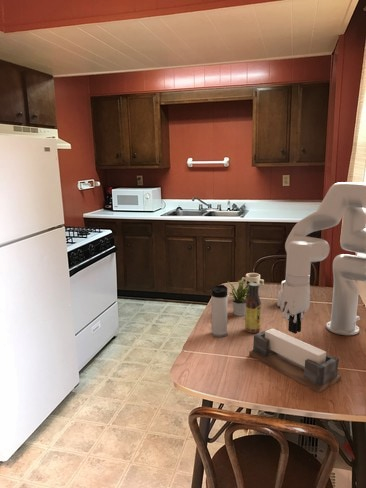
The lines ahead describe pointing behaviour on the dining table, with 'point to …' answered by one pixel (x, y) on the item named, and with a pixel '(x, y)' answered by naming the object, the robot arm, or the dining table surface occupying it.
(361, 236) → the robot arm
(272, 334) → the slat
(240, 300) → the house plant
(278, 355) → the end cap frame
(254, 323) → the sauce bottle
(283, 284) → the medicine bottle
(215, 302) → the travel mug
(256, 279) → the character mug
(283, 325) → the dining table surface
